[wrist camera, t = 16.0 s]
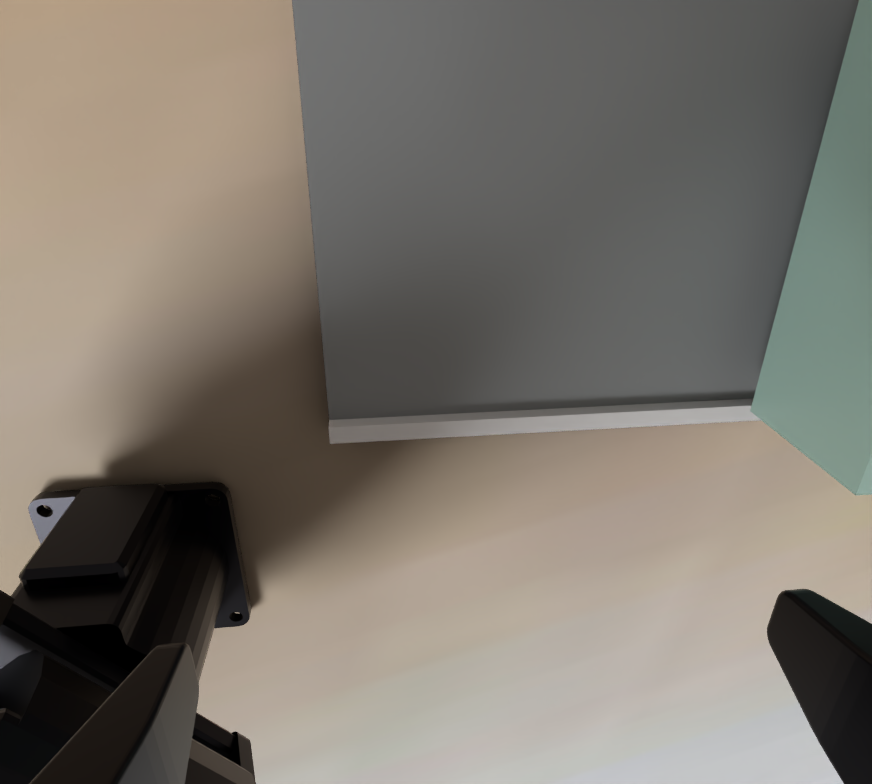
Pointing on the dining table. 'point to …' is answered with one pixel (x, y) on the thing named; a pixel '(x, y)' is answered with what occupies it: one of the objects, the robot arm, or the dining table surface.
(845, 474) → the sage green storage bin
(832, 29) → the rail board
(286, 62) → the dining table surface
